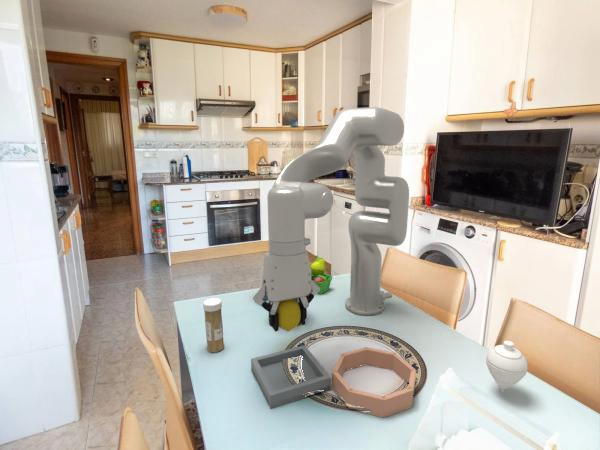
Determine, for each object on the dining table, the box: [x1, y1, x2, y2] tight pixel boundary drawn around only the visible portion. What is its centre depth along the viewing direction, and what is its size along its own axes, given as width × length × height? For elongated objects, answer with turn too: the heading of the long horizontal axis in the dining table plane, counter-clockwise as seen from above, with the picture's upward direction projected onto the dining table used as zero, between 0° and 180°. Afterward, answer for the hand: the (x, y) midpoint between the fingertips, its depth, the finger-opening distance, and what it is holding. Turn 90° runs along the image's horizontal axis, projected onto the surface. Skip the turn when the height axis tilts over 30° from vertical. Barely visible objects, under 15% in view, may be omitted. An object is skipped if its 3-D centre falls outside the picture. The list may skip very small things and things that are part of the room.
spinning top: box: [485, 340, 529, 394], centre depth 77 cm, size 8×8×12 cm
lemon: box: [276, 299, 301, 332], centre depth 79 cm, size 6×6×8 cm
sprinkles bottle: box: [202, 297, 225, 353], centre depth 95 cm, size 5×5×13 cm
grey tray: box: [250, 344, 332, 409], centre depth 83 cm, size 14×14×3 cm
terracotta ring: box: [331, 346, 417, 418], centre depth 80 cm, size 17×17×4 cm
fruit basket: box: [310, 257, 333, 295], centre depth 132 cm, size 11×9×11 cm
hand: (288, 324), depth 80 cm, fingers closed on lemon, 5 cm apart
